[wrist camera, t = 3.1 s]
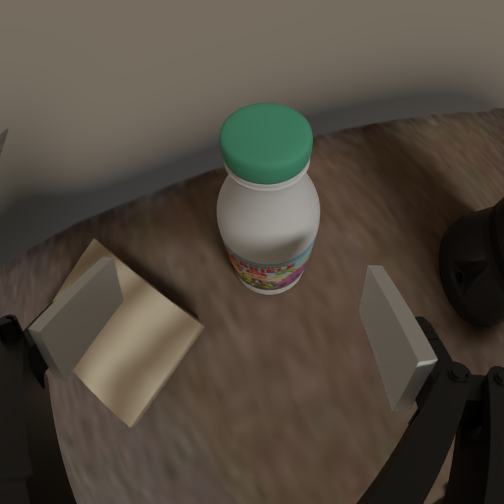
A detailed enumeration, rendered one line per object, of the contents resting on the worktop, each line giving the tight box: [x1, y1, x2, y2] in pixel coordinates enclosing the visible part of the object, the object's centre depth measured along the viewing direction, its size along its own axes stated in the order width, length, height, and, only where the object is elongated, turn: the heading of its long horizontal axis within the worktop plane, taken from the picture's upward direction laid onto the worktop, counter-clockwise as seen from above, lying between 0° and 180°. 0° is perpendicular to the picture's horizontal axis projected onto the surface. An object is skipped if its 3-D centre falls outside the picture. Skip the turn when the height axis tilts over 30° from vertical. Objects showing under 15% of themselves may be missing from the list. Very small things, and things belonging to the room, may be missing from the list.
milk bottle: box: [217, 103, 320, 295], centre depth 22 cm, size 8×8×20 cm
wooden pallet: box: [53, 238, 205, 427], centre depth 28 cm, size 16×13×4 cm
